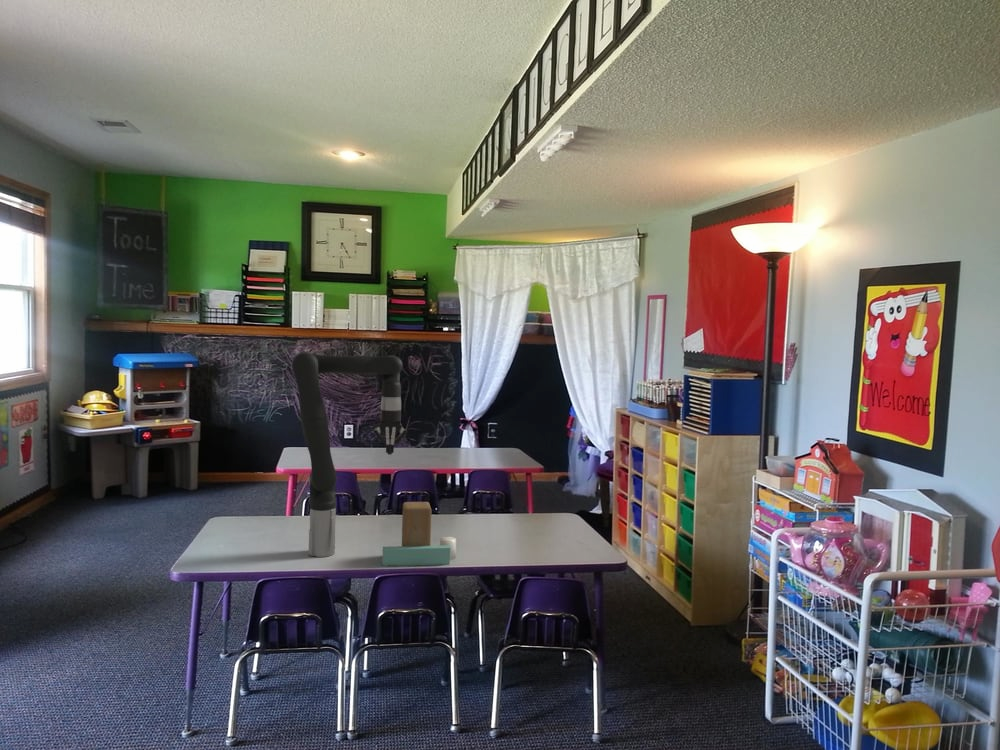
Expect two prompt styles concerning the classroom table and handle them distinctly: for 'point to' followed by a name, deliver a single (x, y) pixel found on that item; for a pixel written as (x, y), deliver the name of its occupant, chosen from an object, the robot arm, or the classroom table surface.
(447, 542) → the cream rounded cylinder
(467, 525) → the classroom table surface
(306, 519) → the classroom table surface
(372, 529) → the classroom table surface
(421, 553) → the teal block
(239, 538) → the classroom table surface
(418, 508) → the wooden block
